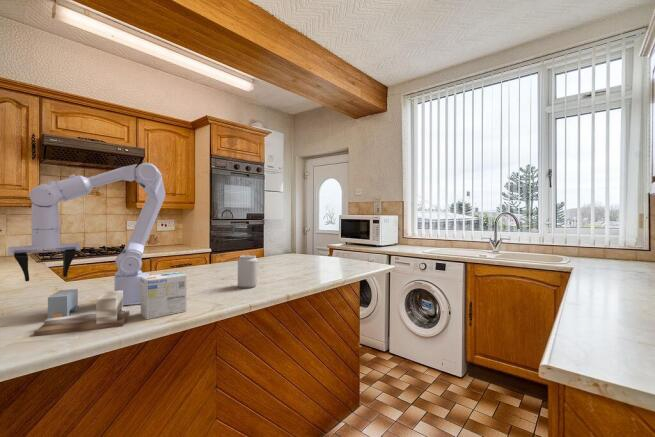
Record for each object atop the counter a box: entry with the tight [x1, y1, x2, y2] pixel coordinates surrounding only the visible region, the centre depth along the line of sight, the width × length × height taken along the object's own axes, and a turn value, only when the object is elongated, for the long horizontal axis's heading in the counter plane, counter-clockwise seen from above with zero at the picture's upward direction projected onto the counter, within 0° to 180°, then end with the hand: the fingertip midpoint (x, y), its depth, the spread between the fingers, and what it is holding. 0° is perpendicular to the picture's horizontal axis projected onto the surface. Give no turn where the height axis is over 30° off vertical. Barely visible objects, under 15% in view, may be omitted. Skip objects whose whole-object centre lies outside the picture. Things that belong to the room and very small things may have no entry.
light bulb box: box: [140, 271, 188, 320], centre depth 87 cm, size 11×7×11 cm, turn 135°
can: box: [237, 254, 259, 289], centre depth 119 cm, size 8×8×12 cm
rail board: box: [33, 290, 131, 337], centre depth 77 cm, size 17×9×7 cm, turn 114°
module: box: [47, 288, 79, 318], centre depth 84 cm, size 4×9×6 cm, turn 24°
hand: (46, 278), depth 84 cm, fingers open, 7 cm apart
